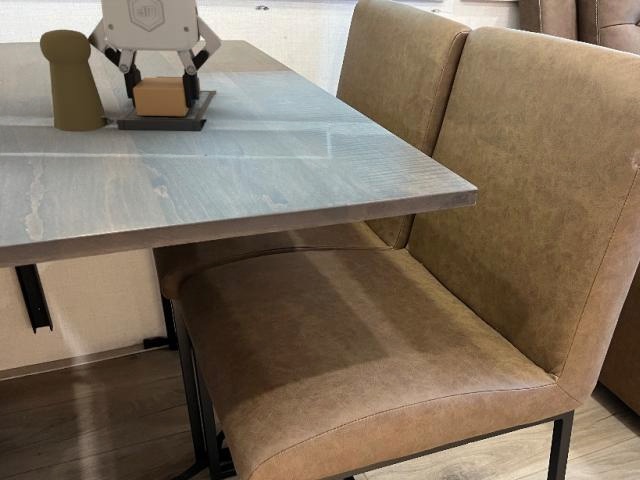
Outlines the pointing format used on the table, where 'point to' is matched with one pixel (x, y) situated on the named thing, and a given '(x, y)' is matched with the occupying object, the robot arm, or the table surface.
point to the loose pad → (160, 97)
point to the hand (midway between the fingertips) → (165, 103)
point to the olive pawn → (72, 82)
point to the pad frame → (164, 120)
